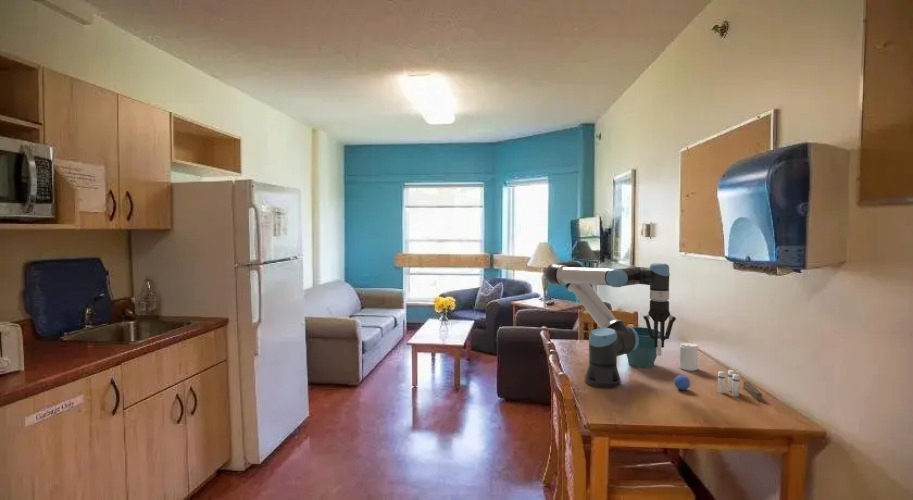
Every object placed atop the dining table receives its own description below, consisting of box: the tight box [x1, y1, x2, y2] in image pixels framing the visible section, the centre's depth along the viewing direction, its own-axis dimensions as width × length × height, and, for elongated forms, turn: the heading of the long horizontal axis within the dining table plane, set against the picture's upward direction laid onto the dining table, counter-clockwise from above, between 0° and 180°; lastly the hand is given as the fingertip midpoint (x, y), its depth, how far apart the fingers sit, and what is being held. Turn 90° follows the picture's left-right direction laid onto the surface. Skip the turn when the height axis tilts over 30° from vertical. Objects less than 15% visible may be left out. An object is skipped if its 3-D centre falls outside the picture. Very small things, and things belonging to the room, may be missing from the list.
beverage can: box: [678, 341, 699, 372], centre depth 215 cm, size 8×8×12 cm
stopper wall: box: [742, 380, 763, 402], centre depth 183 cm, size 2×14×3 cm, turn 166°
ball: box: [673, 374, 691, 391], centre depth 189 cm, size 6×6×6 cm
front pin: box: [717, 370, 726, 394], centre depth 185 cm, size 2×2×8 cm
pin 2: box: [731, 373, 740, 398], centre depth 182 cm, size 2×2×8 cm
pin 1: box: [727, 369, 736, 393], centre depth 187 cm, size 2×2×8 cm
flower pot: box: [625, 326, 660, 369], centre depth 222 cm, size 18×18×17 cm
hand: (658, 354), depth 190 cm, fingers closed
